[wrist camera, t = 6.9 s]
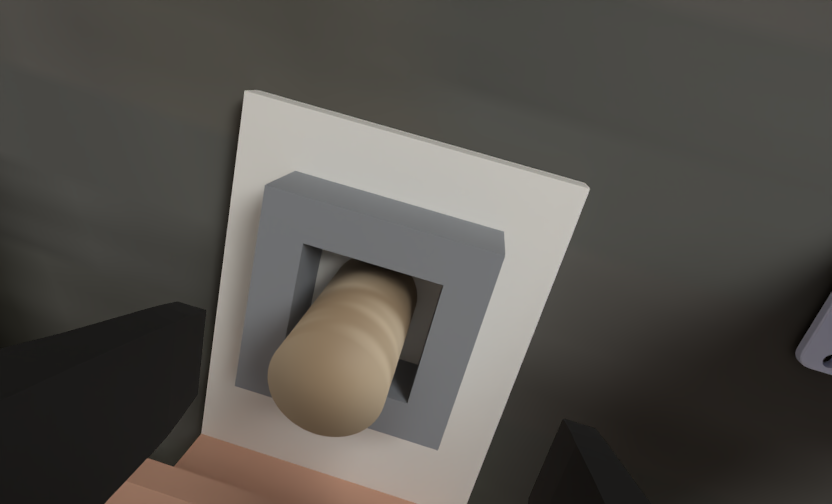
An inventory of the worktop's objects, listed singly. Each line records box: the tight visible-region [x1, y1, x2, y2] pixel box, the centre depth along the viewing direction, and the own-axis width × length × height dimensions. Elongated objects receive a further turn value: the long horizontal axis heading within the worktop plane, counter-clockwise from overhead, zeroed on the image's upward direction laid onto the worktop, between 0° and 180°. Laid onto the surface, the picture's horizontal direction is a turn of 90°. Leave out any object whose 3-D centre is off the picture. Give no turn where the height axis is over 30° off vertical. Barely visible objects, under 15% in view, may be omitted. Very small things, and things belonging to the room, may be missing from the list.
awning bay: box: [105, 90, 590, 504], centre depth 17 cm, size 12×16×7 cm
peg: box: [268, 258, 417, 437], centre depth 16 cm, size 3×3×6 cm
